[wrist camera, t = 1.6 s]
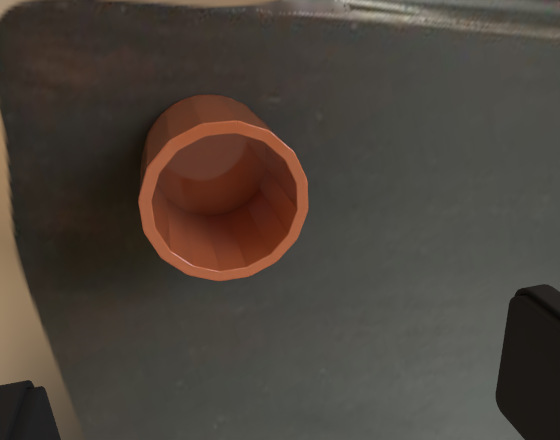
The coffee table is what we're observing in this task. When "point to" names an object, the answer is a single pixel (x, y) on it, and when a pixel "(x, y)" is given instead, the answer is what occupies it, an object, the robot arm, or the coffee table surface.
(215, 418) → the coffee table surface
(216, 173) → the pot
